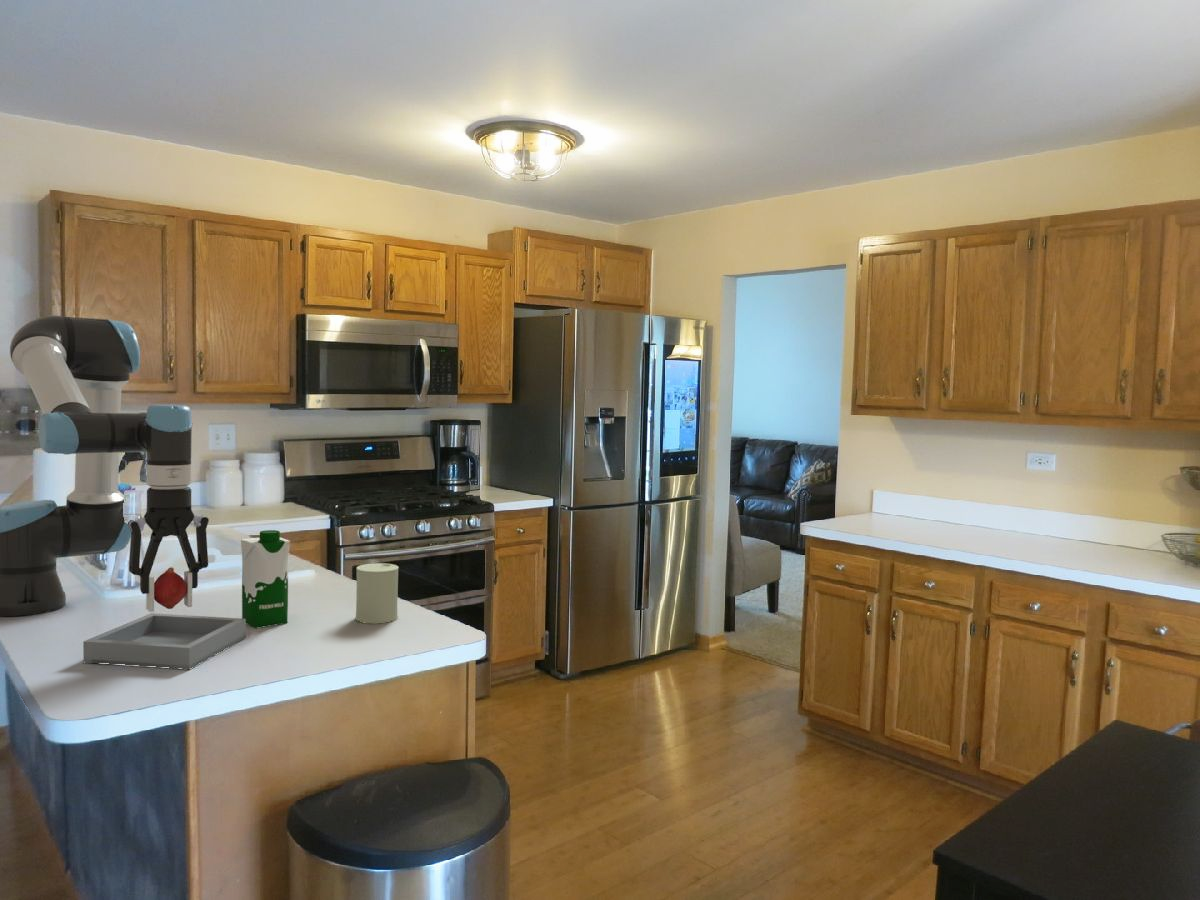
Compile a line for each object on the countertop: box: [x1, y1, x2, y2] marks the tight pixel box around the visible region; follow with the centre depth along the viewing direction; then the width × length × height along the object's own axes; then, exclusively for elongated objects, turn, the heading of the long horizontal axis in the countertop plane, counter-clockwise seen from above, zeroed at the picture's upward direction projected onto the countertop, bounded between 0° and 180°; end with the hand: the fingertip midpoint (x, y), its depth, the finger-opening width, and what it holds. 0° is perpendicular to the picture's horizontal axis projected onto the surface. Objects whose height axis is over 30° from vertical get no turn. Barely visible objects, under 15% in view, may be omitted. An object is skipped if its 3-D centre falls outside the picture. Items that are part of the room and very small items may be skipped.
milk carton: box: [240, 529, 291, 629], centre depth 183 cm, size 9×9×20 cm
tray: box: [82, 612, 247, 670], centre depth 162 cm, size 20×20×4 cm
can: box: [355, 562, 400, 624], centre depth 189 cm, size 9×9×12 cm
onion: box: [154, 566, 186, 610], centre depth 161 cm, size 6×6×8 cm
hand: (169, 607), depth 162 cm, fingers closed on onion, 6 cm apart
